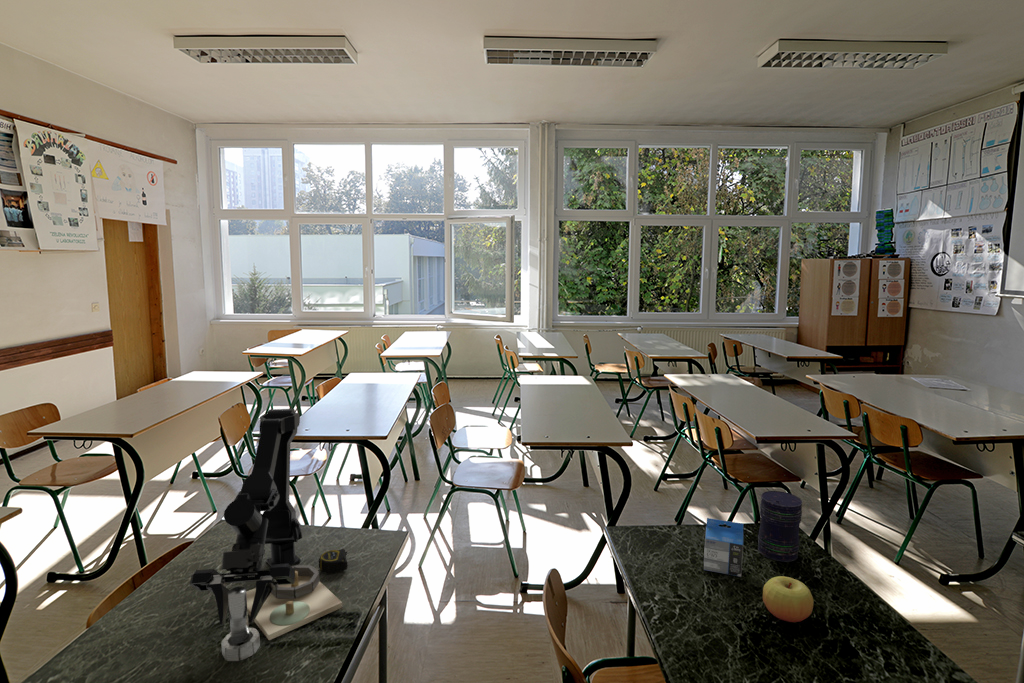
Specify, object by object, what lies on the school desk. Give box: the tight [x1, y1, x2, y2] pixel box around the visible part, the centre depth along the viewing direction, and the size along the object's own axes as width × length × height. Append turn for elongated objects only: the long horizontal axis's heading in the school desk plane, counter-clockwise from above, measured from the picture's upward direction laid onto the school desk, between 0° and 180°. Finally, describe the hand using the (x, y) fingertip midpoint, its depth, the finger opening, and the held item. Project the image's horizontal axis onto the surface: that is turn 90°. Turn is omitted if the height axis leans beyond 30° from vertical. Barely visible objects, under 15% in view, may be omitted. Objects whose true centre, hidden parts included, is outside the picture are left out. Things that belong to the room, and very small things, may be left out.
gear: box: [220, 586, 261, 662], centre depth 110 cm, size 6×6×12 cm
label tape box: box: [703, 517, 744, 578], centre depth 139 cm, size 9×4×12 cm, turn 68°
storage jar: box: [757, 490, 803, 563], centre depth 148 cm, size 10×10×15 cm
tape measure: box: [318, 548, 348, 575], centre depth 140 cm, size 7×7×4 cm
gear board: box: [246, 564, 343, 641], centre depth 126 cm, size 19×16×4 cm
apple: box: [762, 575, 815, 623], centre depth 122 cm, size 10×10×8 cm
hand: (236, 623), depth 109 cm, fingers open, 5 cm apart
